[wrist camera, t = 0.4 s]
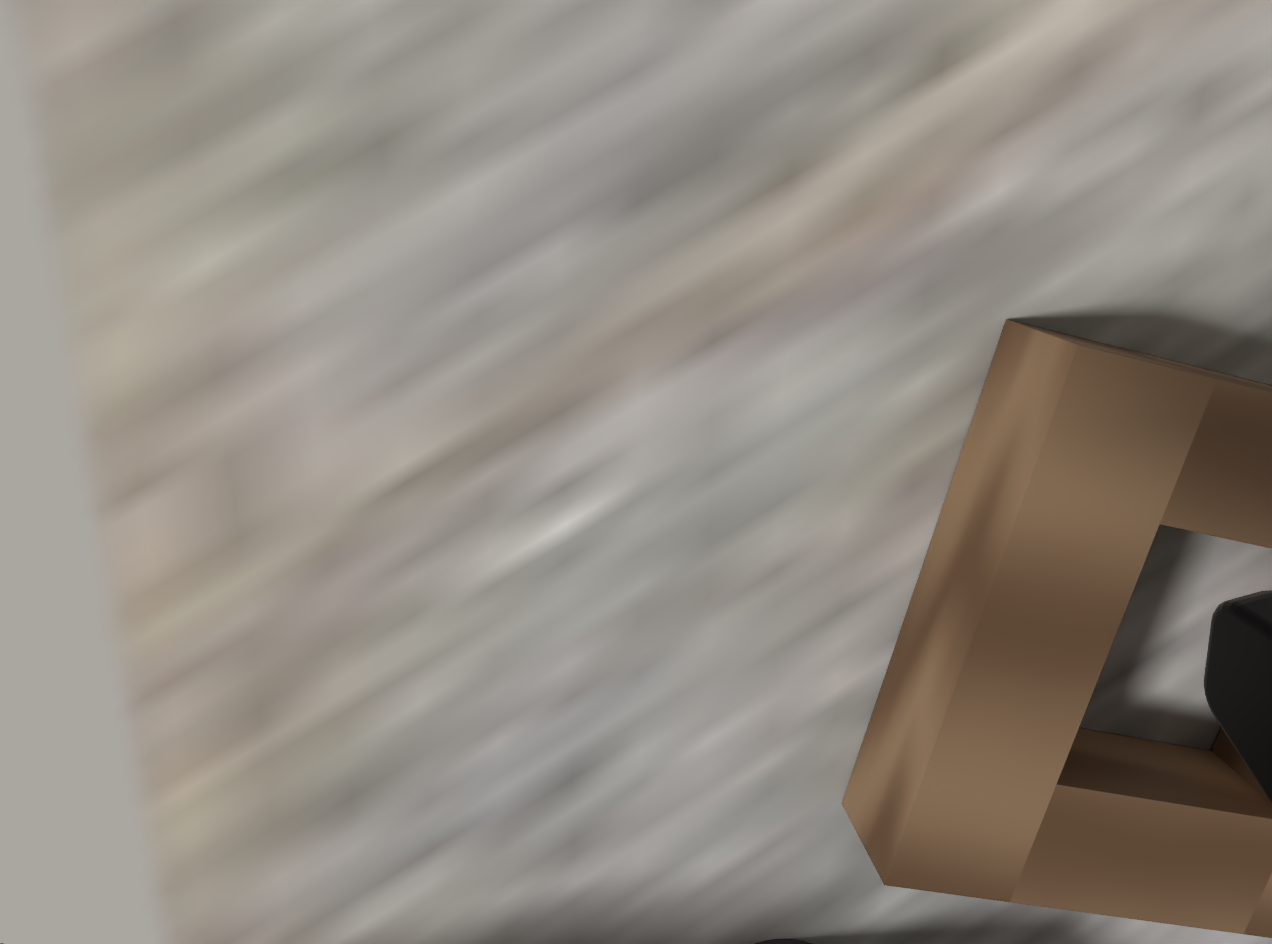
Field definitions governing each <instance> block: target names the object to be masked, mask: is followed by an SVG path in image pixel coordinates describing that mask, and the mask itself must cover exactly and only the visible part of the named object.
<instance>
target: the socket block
mask: <svg viewBox="0 0 1272 944" xmlns="http://www.w3.org/2000/svg"><path fill="white" fill-rule="evenodd" d="M1160 524H1161V525H1166V526H1170V527H1175V528H1180V529H1184V530H1189V531H1193V532H1198V533H1203V534H1207V535H1212V536H1217V537H1221V538H1226V539H1230V540H1235V541H1240V542H1244V543H1249V544H1254V545H1258V546H1263V547H1267V548H1272V386H1271V385H1267V384H1263V383H1259V382H1255V381H1251V380H1247V379H1243V378H1239V377H1235V376H1231V375H1227V374H1223V373H1219V372H1215V371H1211V370H1207V369H1203V368H1199V367H1195V366H1191V365H1187V364H1183V363H1179V362H1175V361H1171V360H1167V359H1163V358H1159V357H1155V356H1151V355H1147V354H1143V353H1139V352H1135V351H1131V350H1127V349H1123V348H1119V347H1115V346H1111V345H1107V344H1103V343H1099V342H1095V341H1091V340H1087V339H1083V338H1079V337H1075V336H1071V335H1067V334H1063V333H1059V332H1055V331H1051V330H1047V329H1043V328H1039V327H1035V326H1031V325H1027V324H1023V323H1019V322H1015V321H1011V320H1007V319H1006V322H1005V324H1004V327H1003V330H1002V333H1001V336H1000V339H999V342H998V345H997V348H996V351H995V354H994V357H993V360H992V363H991V366H990V369H989V372H988V375H987V377H986V380H985V383H984V386H983V389H982V392H981V395H980V398H979V401H978V404H977V407H976V410H975V413H974V416H973V419H972V422H971V425H970V428H969V430H968V433H967V436H966V439H965V442H964V445H963V448H962V451H961V454H960V457H959V460H958V463H957V466H956V469H955V472H954V475H953V478H952V480H951V483H950V486H949V489H948V492H947V495H946V498H945V501H944V504H943V507H942V510H941V513H940V516H939V519H938V522H937V525H936V528H935V531H934V533H933V536H932V539H931V542H930V545H929V548H928V551H927V554H926V557H925V560H924V563H923V566H922V569H921V572H920V575H919V578H918V581H917V584H916V586H915V589H914V592H913V595H912V598H911V601H910V604H909V607H908V610H907V613H906V616H905V619H904V622H903V625H902V628H901V631H900V634H899V636H898V639H897V642H896V645H895V648H894V651H893V654H892V657H891V660H890V663H889V666H888V669H887V672H886V675H885V678H884V681H883V684H882V687H881V689H880V692H879V695H878V698H877V701H876V704H875V707H874V710H873V713H872V716H871V719H870V722H869V725H868V728H867V731H866V734H865V737H864V740H863V742H862V745H861V748H860V751H859V754H858V757H857V760H856V763H855V766H854V769H853V772H852V775H851V778H850V781H849V784H848V787H847V790H846V793H845V795H844V798H843V801H842V805H843V807H844V809H845V811H846V813H847V815H848V817H849V819H850V820H851V822H852V824H853V826H854V828H855V830H856V832H857V834H858V836H859V838H860V839H861V841H862V843H863V845H864V847H865V849H866V851H867V853H868V855H869V857H870V858H871V860H872V862H873V864H874V866H875V868H876V870H877V872H878V874H879V876H880V878H881V879H882V881H883V883H884V885H888V886H896V887H903V888H910V889H918V890H925V891H932V892H939V893H947V894H954V895H961V896H969V897H976V898H983V899H991V900H998V901H1005V902H1013V903H1020V904H1027V905H1035V906H1042V907H1049V908H1057V909H1064V910H1071V911H1079V912H1086V913H1093V914H1101V915H1108V916H1115V917H1123V918H1130V919H1137V920H1145V921H1152V922H1159V923H1167V924H1174V925H1181V926H1188V927H1196V928H1203V929H1210V930H1218V931H1225V932H1232V933H1240V934H1247V935H1254V936H1262V937H1269V938H1272V804H1271V802H1270V801H1269V799H1268V798H1267V796H1266V794H1265V793H1264V791H1263V790H1262V788H1261V787H1260V785H1259V784H1258V782H1257V781H1256V779H1255V778H1254V776H1253V775H1252V773H1251V772H1250V770H1249V769H1248V767H1247V765H1246V764H1245V762H1244V761H1243V759H1242V758H1241V756H1240V755H1239V753H1238V752H1237V750H1236V749H1235V747H1234V746H1233V744H1232V743H1231V741H1230V739H1229V738H1228V736H1227V735H1226V733H1225V732H1224V730H1223V729H1222V727H1221V729H1220V731H1219V734H1218V736H1217V738H1216V741H1215V743H1214V745H1213V747H1212V750H1211V751H1208V750H1203V749H1197V748H1191V747H1185V746H1180V745H1174V744H1168V743H1162V742H1156V741H1151V740H1145V739H1139V738H1133V737H1127V736H1122V735H1116V734H1110V733H1104V732H1098V731H1093V730H1087V729H1081V728H1079V726H1080V724H1081V721H1082V719H1083V716H1084V714H1085V711H1086V709H1087V706H1088V704H1089V701H1090V699H1091V696H1092V693H1093V691H1094V688H1095V686H1096V683H1097V681H1098V678H1099V676H1100V673H1101V671H1102V668H1103V666H1104V663H1105V661H1106V658H1107V656H1108V653H1109V651H1110V648H1111V646H1112V643H1113V641H1114V638H1115V636H1116V633H1117V630H1118V628H1119V625H1120V623H1121V620H1122V618H1123V615H1124V613H1125V610H1126V608H1127V605H1128V603H1129V600H1130V598H1131V595H1132V593H1133V590H1134V588H1135V585H1136V583H1137V580H1138V578H1139V575H1140V572H1141V570H1142V567H1143V565H1144V562H1145V560H1146V557H1147V555H1148V552H1149V550H1150V547H1151V545H1152V542H1153V540H1154V537H1155V535H1156V532H1157V530H1158V527H1159V525H1160Z"/></svg>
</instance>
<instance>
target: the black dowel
mask: <svg viewBox="0 0 1272 944" xmlns="http://www.w3.org/2000/svg"><path fill="white" fill-rule="evenodd" d="M756 944H811V943H808V942H804V941H799V940H792V939H775V940H768V941H763V942H759V943H756Z"/></svg>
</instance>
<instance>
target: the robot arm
mask: <svg viewBox="0 0 1272 944" xmlns="http://www.w3.org/2000/svg"><path fill="white" fill-rule="evenodd" d="M1204 689H1205V695H1206V698H1207V702H1208V704H1209V707H1210V709H1211V711H1212V713H1213V715H1214V716H1215V718H1216V720H1217V721H1218V723H1219V724H1220V726H1221V727H1222V729H1223V730H1224V732H1225V733H1226V735H1227V736H1228V738H1229V739H1230V741H1231V743H1232V744H1233V746H1234V747H1235V749H1236V750H1237V752H1238V753H1239V755H1240V756H1241V758H1242V759H1243V761H1244V762H1245V764H1246V765H1247V767H1248V769H1249V770H1250V772H1251V773H1252V775H1253V776H1254V778H1255V779H1256V781H1257V782H1258V784H1259V785H1260V787H1261V788H1262V790H1263V791H1264V793H1265V794H1266V796H1267V798H1268V799H1269V801H1270V802H1271V804H1272V591H1271V590H1270V591H1261V592H1257V593H1253V594H1250V595H1246V596H1243V597H1239V598H1235V599H1232V600H1228V601H1225V602H1223V603H1221V604H1220V605H1219V606H1218V607H1217V609H1216V610H1215V612H1214V613H1213V616H1212V621H1211V629H1210V637H1209V644H1208V652H1207V660H1206V668H1205V676H1204ZM1 944H3V943H1Z"/></svg>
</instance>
